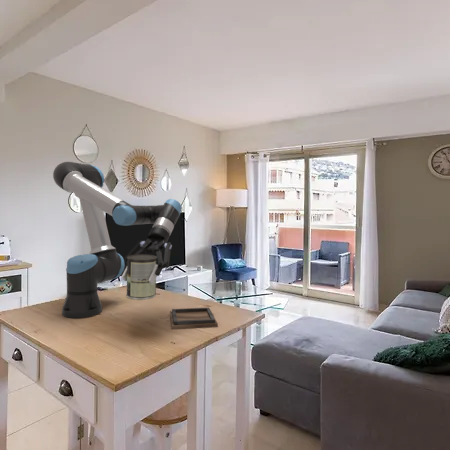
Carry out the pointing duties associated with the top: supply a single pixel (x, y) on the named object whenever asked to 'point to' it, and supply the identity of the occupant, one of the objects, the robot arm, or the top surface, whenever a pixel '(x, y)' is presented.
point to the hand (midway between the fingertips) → (137, 280)
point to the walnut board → (192, 318)
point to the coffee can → (140, 276)
